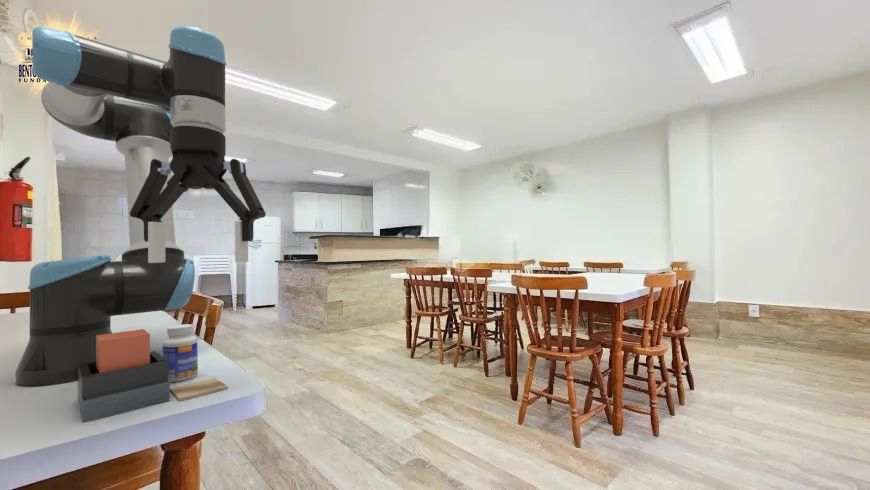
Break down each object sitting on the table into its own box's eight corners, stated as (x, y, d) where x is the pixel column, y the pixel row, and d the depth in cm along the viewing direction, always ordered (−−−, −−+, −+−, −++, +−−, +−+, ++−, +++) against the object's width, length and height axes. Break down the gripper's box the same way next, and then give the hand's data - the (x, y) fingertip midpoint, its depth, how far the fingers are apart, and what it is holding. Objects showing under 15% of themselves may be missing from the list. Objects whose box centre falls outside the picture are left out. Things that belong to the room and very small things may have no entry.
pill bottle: (180, 383, 67) (179, 329, 67) (155, 382, 68) (155, 328, 68) (204, 373, 72) (204, 323, 72) (181, 372, 73) (180, 323, 73)
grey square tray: (78, 400, 60) (77, 362, 60) (154, 383, 67) (154, 350, 67) (82, 422, 52) (82, 379, 52) (169, 400, 59) (169, 362, 59)
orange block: (96, 366, 59) (96, 335, 59) (143, 358, 64) (143, 329, 64) (99, 374, 55) (99, 341, 55) (149, 365, 60) (149, 333, 60)
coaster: (169, 390, 63) (169, 388, 63) (215, 379, 68) (215, 377, 68) (179, 401, 58) (179, 398, 58) (227, 388, 64) (227, 386, 64)
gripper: (100, 123, 56) (100, 264, 56) (266, 122, 56) (266, 262, 56) (139, 137, 63) (139, 261, 63) (285, 137, 64) (286, 260, 64)
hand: (199, 262), depth 60 cm, fingers open, 13 cm apart
